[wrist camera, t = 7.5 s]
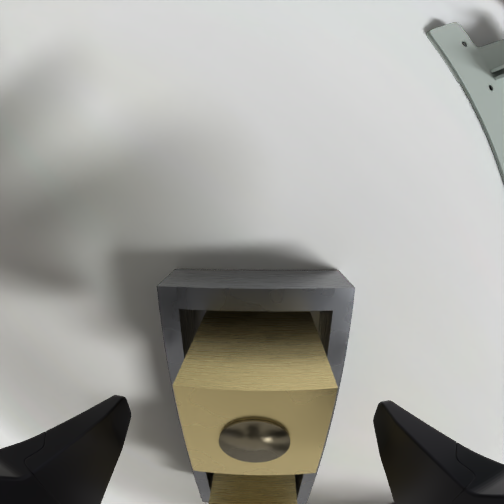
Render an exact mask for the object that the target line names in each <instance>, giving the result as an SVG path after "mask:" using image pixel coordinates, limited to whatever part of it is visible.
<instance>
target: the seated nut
mask: <svg viewBox="0 0 504 504" xmlns="http://www.w3.org/2000/svg"><path fill="white" fill-rule="evenodd" d="M209 504H297V494H296V482H295V474H294V475H236V474H222V473H214V475H213V481H212V487H211V493H210V498H209Z"/></svg>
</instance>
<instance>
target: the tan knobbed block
mask: <svg viewBox="0 0 504 504" xmlns="http://www.w3.org/2000/svg"><path fill="white" fill-rule="evenodd" d="M173 389H174V394H175V399H176V404H177V409H178V413H179V418H180V422H181V426H182V430H183V434H184V438H185V442H186V446H187V450H188V454H189V457H190V461H191V464H192V468H193V470H194V471H202V472H211V473H222V474H236V475H294V474H309V473H316V471H317V467H318V464H319V461H320V457H321V454H322V451H323V447H324V444H325V440H326V436H327V432H328V429H329V425H330V421H331V417H332V412H333V408H334V404H335V399H336V395H337V390H338V386H337V384H336V381H335V378H334V375H333V372H332V370H331V367H330V364H329V361H328V359H327V356H326V353H325V350H324V348H323V345H322V342H321V340H320V337H319V334H318V332H317V329H316V326H315V324H314V321H313V318H312V316H311V313H310V311H217V310H207V311H206V313H205V315H204V317H203V319H202V322H201V324H200V326H199V328H198V330H197V332H196V335H195V337H194V339H193V341H192V343H191V346H190V348H189V350H188V352H187V354H186V357H185V359H184V361H183V363H182V365H181V368H180V370H179V372H178V374H177V377H176V379H175V381H174V383H173Z"/></svg>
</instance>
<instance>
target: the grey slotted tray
mask: <svg viewBox="0 0 504 504" xmlns="http://www.w3.org/2000/svg"><path fill="white" fill-rule="evenodd" d="M157 291H158V300H159V309H160V316H161V324H162V331H163V338H164V344H165V351H166V357H167V363H168V368H169V374H170V379H171V384H172V389H173V383H174V381H175V379H176V377H177V374H178V372H179V370H180V368H181V365H182V363H183V361H184V359H185V357H186V354H187V352H188V350H189V348H190V346H191V343H192V341H193V339H194V337H195V335H196V332H197V330H198V328H199V326H200V324H201V322H202V319H203V317H204V315H205V313H206V311H207V310H217V311H310V313H311V316H312V318H313V321H314V324H315V326H316V329H317V332H318V334H319V337H320V340H321V342H322V345H323V348H324V350H325V353H326V356H327V359H328V361H329V364H330V367H331V370H332V372H333V375H334V378H335V381H336V384H337V386H338V390H337V395H336V399H335V404H334V408H333V412H332V417H331V421H330V425H329V429H330V426H331V422H332V418H333V414H334V409H335V405H336V401H337V396H338V392H339V387H340V382H341V377H342V372H343V367H344V361H345V356H346V350H347V344H348V338H349V331H350V324H351V317H352V309H353V301H354V293H355V287H354V286H353V285H352V284H351V283H350V282H349V281H348V280H347V279H346V277H345V276H344V275H343V274H342V273H341V272H340V271H339V270H195V269H175V270H174V271H173V272H172V273H171V274H170V275H169V276H167V277H166V278H165V279H164V280H163V281H162V282H161V283H160V284H159V285H158V286H157ZM173 394H174V389H173ZM174 399H175V394H174ZM175 404H176V399H175ZM176 408H177V404H176ZM177 413H178V409H177ZM178 417H179V413H178ZM179 421H180V418H179ZM180 425H181V422H180ZM329 429H328V432H327V436H326V440H325V444H326V441H327V437H328V433H329ZM181 430H182V426H181ZM182 434H183V430H182ZM183 438H184V434H183ZM184 441H185V438H184ZM325 444H324V447H323V451H324V448H325ZM185 445H186V442H185ZM186 449H187V446H186ZM323 451H322V454H321V457H320V461H321V458H322V455H323ZM187 453H188V450H187ZM188 456H189V454H188ZM189 460H190V457H189ZM320 461H319V464H318V467H317V471H318V468H319V465H320ZM190 463H191V461H190ZM191 467H192V464H191ZM192 470H193V468H192ZM317 471H316V473H309V474H295V482H296V494H297V504H306V503H307V500H308V497H309V495H310V492H311V489H312V486H313V483H314V480H315V477H316V474H317ZM193 473H194V477H195V480H196V483H197V486H198V489H199V492H200V495H201V498H202V501H203V502H209V498H210V493H211V487H212V481H213V475H214V473H211V472H202V471H194V470H193Z"/></svg>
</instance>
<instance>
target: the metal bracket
mask: <svg viewBox="0 0 504 504" xmlns="http://www.w3.org/2000/svg"><path fill="white" fill-rule="evenodd" d="M427 37H428V39H429V40H430V42H431V43H432V44H433V46H434V47H435V49H436V50H437V51H438V53H439V54H440V56H441V57H442V59H443V60H444V62H445V63H446V65H447V66H448V68H449V69H450V71H451V73H452V74H453V76H454V78H455V79H456V81H457V82H459V83H460V84H461V86H462V88H463V89H464V91H465V93H466V95H467V97H468V99H469V101H470V102H471V104H472V106H473V108H474V110H475V112H476V114H477V116H478V119H479V121H480V123H481V125H482V127H483V129H484V132H485V134H486V136H487V139H488V141H489V144H490V146H491V149H492V151H493V154H494V156H495V159H496V162H497V165H498V168H499V171H500V174H501V177H502V180H503V183H504V40H500V41H497V42H494V43H491V44H488V45H485V46H482V47H477V46H475V45H474V44H473V42H472V41H471V39H470V38H469V36H468V35H467V33H466V32H465V31H464V29H463V28H462V27H461V26H460V25H459V24H458V23H456V22H453V23H450V24H447V25H444V26H441V27H438V28H435V29H432V30H431V31H428V32H427ZM462 42H464V43H465V44H466V47H465V46H464V45H463V44H462ZM489 85H490V86H491V88H492V91H491V90H490V89H489Z"/></svg>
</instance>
